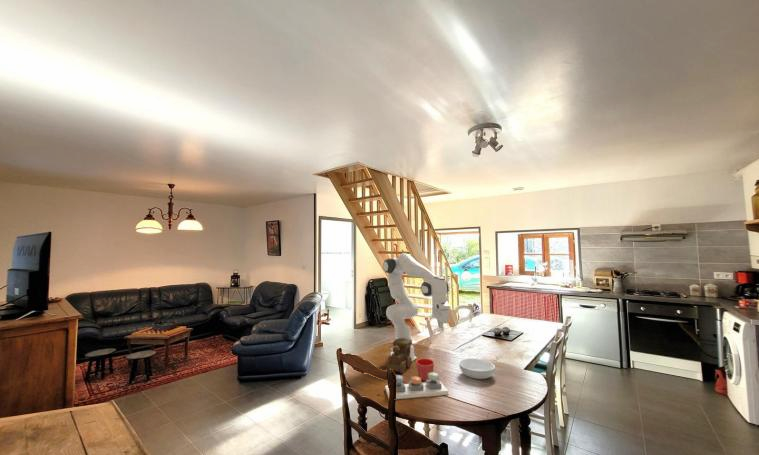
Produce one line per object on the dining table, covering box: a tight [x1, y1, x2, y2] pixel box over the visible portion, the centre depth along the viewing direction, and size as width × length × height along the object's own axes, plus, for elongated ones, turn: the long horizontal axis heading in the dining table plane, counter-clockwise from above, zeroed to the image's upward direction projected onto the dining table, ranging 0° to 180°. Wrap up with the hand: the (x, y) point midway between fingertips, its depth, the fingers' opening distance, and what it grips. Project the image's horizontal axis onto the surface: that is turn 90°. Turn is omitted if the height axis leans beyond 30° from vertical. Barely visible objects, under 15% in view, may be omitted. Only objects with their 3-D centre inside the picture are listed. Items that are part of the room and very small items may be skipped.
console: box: [384, 379, 449, 400], centre depth 166 cm, size 12×32×4 cm, turn 98°
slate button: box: [395, 374, 404, 386], centre depth 165 cm, size 6×6×4 cm
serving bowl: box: [458, 358, 496, 380], centre depth 186 cm, size 21×21×7 cm
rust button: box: [410, 376, 422, 385], centre depth 166 cm, size 6×6×4 cm
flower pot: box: [415, 358, 435, 382], centre depth 183 cm, size 11×11×10 cm
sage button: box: [428, 371, 439, 383], centre depth 168 cm, size 6×6×4 cm
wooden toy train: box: [386, 339, 413, 374], centre depth 199 cm, size 20×11×17 cm, turn 152°
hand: (440, 327), depth 179 cm, fingers closed
